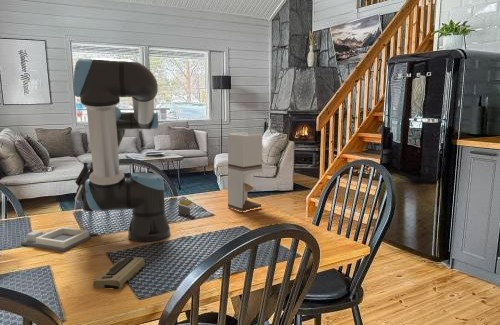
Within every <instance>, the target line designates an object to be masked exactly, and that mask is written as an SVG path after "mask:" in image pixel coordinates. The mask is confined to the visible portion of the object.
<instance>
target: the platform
mask: <svg viewBox="0 0 500 325" xmlns="http://www.w3.org/2000/svg"><path fill="white" fill-rule="evenodd" d="M191 202H192V201H190V200H188V199H184V198H181V199H179V201H177V202H175V205H176V206H178V209H177V210H178V213H179V214H181V213H182V215H184V214H186V215H185V216H187V215H189V216H188V217H191V208H193V207H194V203H191Z"/></svg>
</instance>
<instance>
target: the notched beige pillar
mask: <svg viewBox="0 0 500 325" xmlns="http://www.w3.org/2000/svg"><path fill="white" fill-rule="evenodd" d="M227 136H228V137H227V144H228V145H227V150H228V151H227V208H228V207H229V208H233V209H236V210H239V211H242V212H243V211H246V210H250V209H254V208H258V207H261V208H262V204H261V203H257V202H255V201H252V200H248V192H250V191H252V190H254V187H255V186H254V185H255V180H254V179H255V173H260V172H262V171H263V170H262V169H263V133H261V134H259V133H258V134H249V133H248V132H237V133H235V132H234V133H228V134H227ZM229 208H228V209H229Z"/></svg>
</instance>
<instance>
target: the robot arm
mask: <svg viewBox="0 0 500 325" xmlns="http://www.w3.org/2000/svg"><path fill="white" fill-rule="evenodd" d="M72 84H73V86H72V88H73V89H72V90H73V95H74V96H75V97H77V98H80V104H81V105H83V106H84V107H85V108H86V112H87V116H86V117H87V123H88V124H87V125H88V134H89V144H90V154H91V163H90V162H89V163H87V162H84V163H83V167H82V169H81V171H80V172H79V175H78V176H77V178H76V180H75V182H74V183H75V184H76V186H78V187H77V189H76V192H75V193H76V194H75V195H76V196H75V197H74V200H75V202H77V204H80V203H81V202H82V192H81V188H82V187H83V186H84V179H86V178H89V179H87V180H86V182H85V191H86V198H87V202H88V205H89V207H90V208H91V209H92V210H94V211H93V212H99V211H100V212H107V211H123V210H132V217H131V221H130V223H129V227H128V231H127V234H128V235H127V237H128V238H129V239H130V240H132V241H135V242H144V243H145V242H147V243H148V242H156V241H161V240H163V239H166V238H168V237H169V236H170V235H171V227H170V225H169V222H168V221H169V220H168V219H167V217H166V211H165V208H166V206H165V190H166V189H165V182H164V178H163V176H161V175H159V174H156V173H153V172H152V173H151V172H145V171H144V172H143V171H139V172H132V173H131V174H130V176H129V177H125V173H124V172H123V171H122V170H121V169H120V160H119V159H120V158H119V157H120V156H119V148H120V146H121V143H122V140H123V138H124V136H125V132H126V130H157V129H158V128H159V113H158V111H156V110H155V98H156V96H157V95H158V88H159V86H158V81H157V78H156V77H155V76H154V74H153V73H152V71H151V70H150V69H149V68H148V67H147V66H145V65H144V64H142V63H140V62H138V61H135V60H133V59H128V58H124V59H123V58H121V59H120V58H106V57H105V58H104V57H94V56H93V57H82V58H81V57H80V58H78V59H77V61H76V62H75V65H74V73H73V83H72ZM121 98H131V99H132V100H131V101H132V109H133V110H121V109H120V108H119V107H118V104H119V103H120V100H121Z"/></svg>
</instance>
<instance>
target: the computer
mask: <svg viewBox="0 0 500 325" xmlns="http://www.w3.org/2000/svg"><path fill="white" fill-rule="evenodd" d="M145 266H146V260H145V258H144V257H133V256H132V257H123V258H121V259H119V260H118V261H117V262H116V263H114V264H113V265H112V266H111V267H109V268H108V269H107V270H106V271H104V272H103V273H101V275H99V276H98V277H97V278H96V279H95V280H93V282H92V286H93V287H94V288H95V287H96V288H97V289H106V288H114V289H113V290H117V289H121V290H122V289H123V288H124V284H125V283H127V282H126V281H129V280H130V279H131V278H132V277H133V276H134V275H135V274H136V273H137V274H138V272H140V271H141V270H142V269H143V268H144V267H145ZM142 267H143V268H142ZM141 268H142V269H141ZM139 270H140V271H139ZM137 274H136V275H137ZM136 275H135V276H136ZM135 276H134V277H135ZM134 277H133V278H134ZM133 278H132V279H133ZM132 279H131V280H132ZM131 280H130V281H131ZM130 281H129V282H130Z"/></svg>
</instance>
